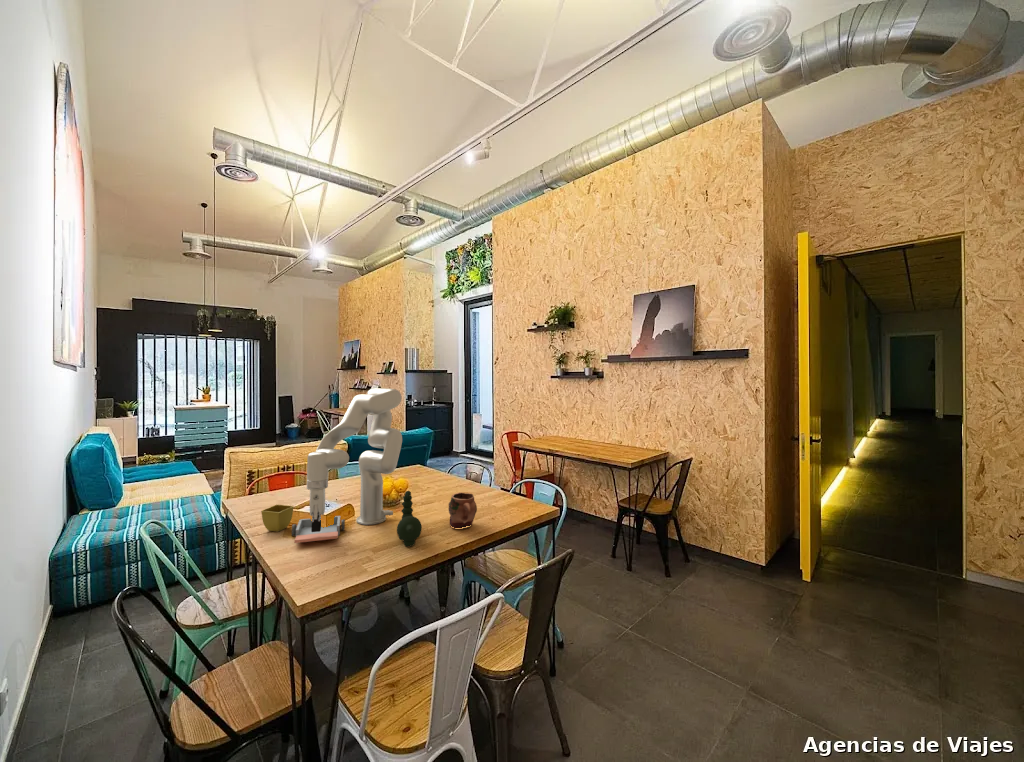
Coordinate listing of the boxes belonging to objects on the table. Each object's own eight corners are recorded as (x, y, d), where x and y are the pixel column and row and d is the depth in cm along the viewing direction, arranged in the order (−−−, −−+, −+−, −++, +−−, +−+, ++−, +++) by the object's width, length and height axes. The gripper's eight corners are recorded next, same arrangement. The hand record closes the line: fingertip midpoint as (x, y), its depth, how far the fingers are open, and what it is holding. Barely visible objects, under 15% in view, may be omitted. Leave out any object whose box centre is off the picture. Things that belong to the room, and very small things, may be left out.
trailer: (295, 526, 181) (295, 516, 181) (344, 522, 188) (345, 512, 188) (290, 540, 166) (290, 529, 166) (344, 535, 173) (344, 524, 173)
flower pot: (278, 534, 173) (279, 512, 173) (260, 532, 174) (260, 510, 174) (293, 526, 181) (294, 505, 181) (276, 525, 183) (276, 504, 183)
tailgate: (296, 535, 167) (293, 540, 159) (338, 530, 172) (338, 535, 164) (296, 537, 166) (293, 543, 159) (338, 533, 172) (338, 538, 164)
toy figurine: (395, 534, 179) (397, 553, 155) (396, 489, 181) (397, 500, 157) (418, 532, 182) (423, 550, 158) (418, 488, 183) (423, 499, 159)
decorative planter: (484, 532, 179) (485, 500, 179) (457, 537, 173) (458, 503, 173) (466, 518, 196) (466, 488, 196) (441, 522, 190) (441, 491, 190)
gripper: (326, 488, 158) (325, 536, 158) (328, 479, 172) (327, 524, 172) (304, 489, 156) (303, 539, 156) (308, 480, 170) (307, 525, 170)
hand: (316, 531), depth 164 cm, fingers closed
